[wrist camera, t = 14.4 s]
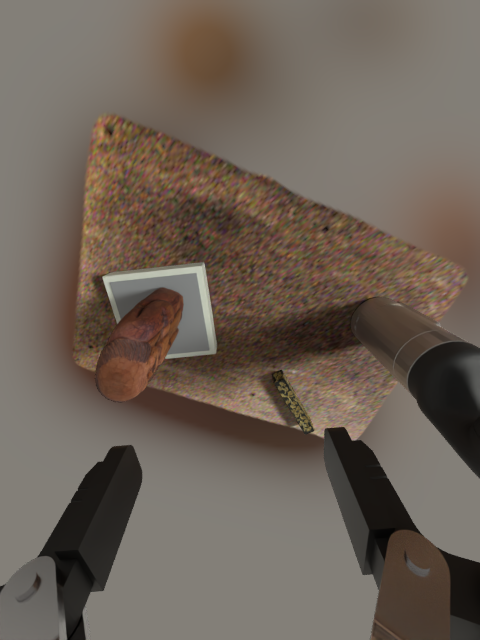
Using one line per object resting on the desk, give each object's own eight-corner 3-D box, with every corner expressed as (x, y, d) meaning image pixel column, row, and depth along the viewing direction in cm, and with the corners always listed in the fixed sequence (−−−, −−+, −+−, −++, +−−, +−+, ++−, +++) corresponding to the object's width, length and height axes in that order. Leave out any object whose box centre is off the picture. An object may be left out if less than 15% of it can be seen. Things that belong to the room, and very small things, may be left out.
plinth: (204, 262, 43) (201, 266, 40) (217, 345, 49) (215, 354, 46) (111, 272, 44) (101, 277, 40) (135, 353, 50) (128, 363, 46)
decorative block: (310, 419, 57) (315, 431, 54) (301, 423, 58) (305, 436, 54) (281, 368, 52) (285, 378, 49) (271, 373, 52) (273, 383, 49)
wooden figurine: (173, 351, 46) (137, 430, 29) (137, 341, 45) (79, 417, 28) (190, 291, 41) (159, 343, 25) (151, 278, 41) (92, 324, 24)
